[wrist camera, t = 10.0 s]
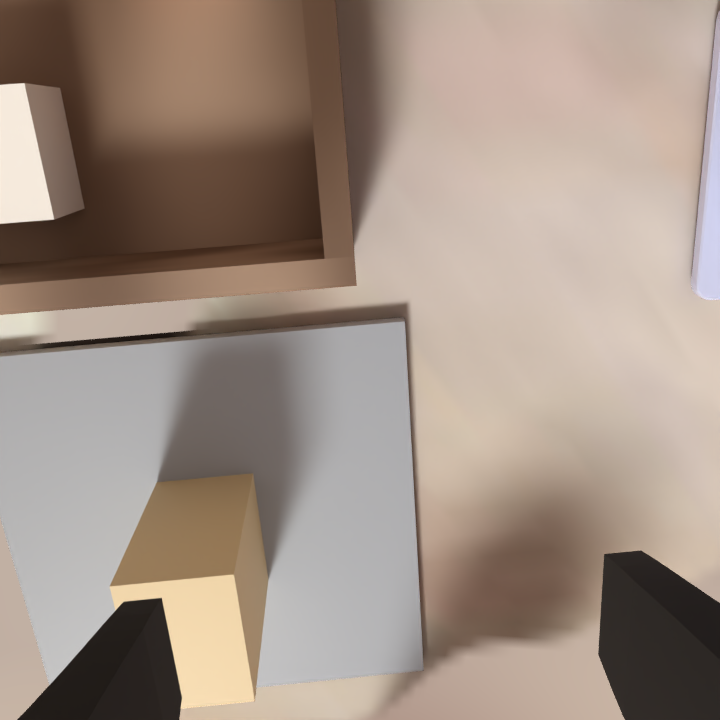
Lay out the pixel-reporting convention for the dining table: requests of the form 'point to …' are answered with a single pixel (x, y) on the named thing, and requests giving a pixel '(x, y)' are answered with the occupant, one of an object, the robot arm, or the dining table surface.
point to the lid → (219, 499)
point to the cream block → (35, 156)
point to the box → (184, 151)
